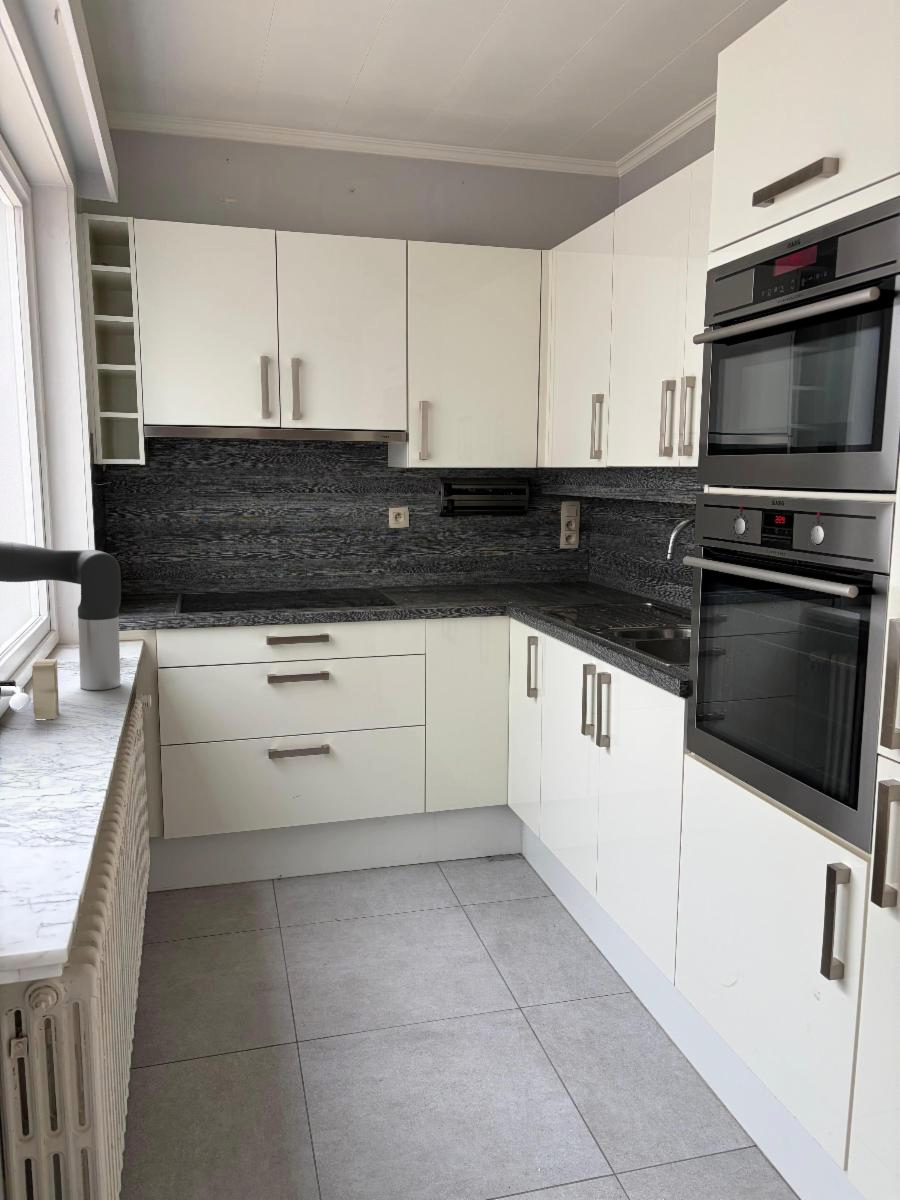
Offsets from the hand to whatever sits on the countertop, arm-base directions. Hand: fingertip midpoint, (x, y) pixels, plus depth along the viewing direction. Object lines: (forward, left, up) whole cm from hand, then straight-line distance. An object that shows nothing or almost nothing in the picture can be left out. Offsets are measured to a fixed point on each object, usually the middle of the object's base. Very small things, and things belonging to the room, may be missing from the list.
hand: (15, 685), depth 196 cm
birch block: (0, +6, -7) cm, 9 cm away
